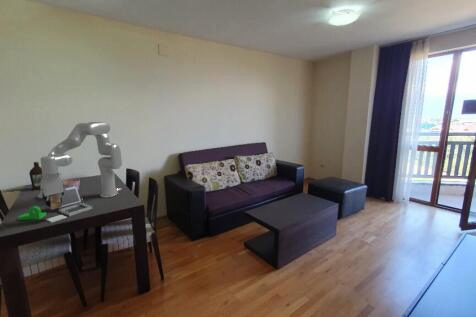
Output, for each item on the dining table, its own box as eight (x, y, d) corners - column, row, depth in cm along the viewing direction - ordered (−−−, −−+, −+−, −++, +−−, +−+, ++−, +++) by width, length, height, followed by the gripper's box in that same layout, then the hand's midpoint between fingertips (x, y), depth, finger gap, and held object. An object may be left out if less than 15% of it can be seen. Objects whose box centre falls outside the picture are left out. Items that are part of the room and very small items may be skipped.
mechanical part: (46, 215, 146) (44, 203, 145) (39, 219, 140) (37, 207, 139) (25, 216, 145) (24, 204, 143) (18, 220, 139) (16, 207, 137)
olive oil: (31, 189, 200) (27, 162, 196) (47, 187, 208) (43, 160, 204) (32, 192, 193) (27, 163, 189) (48, 189, 200) (44, 162, 196)
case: (79, 203, 167) (77, 185, 165) (94, 208, 158) (92, 189, 155) (55, 210, 154) (52, 191, 151) (69, 216, 144) (67, 195, 142)
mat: (61, 215, 145) (61, 214, 145) (66, 217, 142) (66, 216, 142) (46, 220, 138) (46, 219, 138) (51, 222, 135) (51, 221, 135)
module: (57, 205, 142) (55, 192, 141) (61, 206, 140) (59, 193, 138) (47, 208, 138) (46, 194, 136) (51, 209, 135) (50, 195, 134)
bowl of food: (87, 192, 193) (86, 179, 191) (66, 200, 174) (64, 185, 172) (67, 191, 196) (65, 178, 194) (44, 198, 177) (42, 184, 175)
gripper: (64, 173, 145) (67, 199, 148) (30, 178, 130) (34, 208, 133) (69, 174, 141) (73, 201, 144) (35, 180, 127) (39, 210, 129)
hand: (54, 204), depth 138 cm, fingers closed on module, 5 cm apart
